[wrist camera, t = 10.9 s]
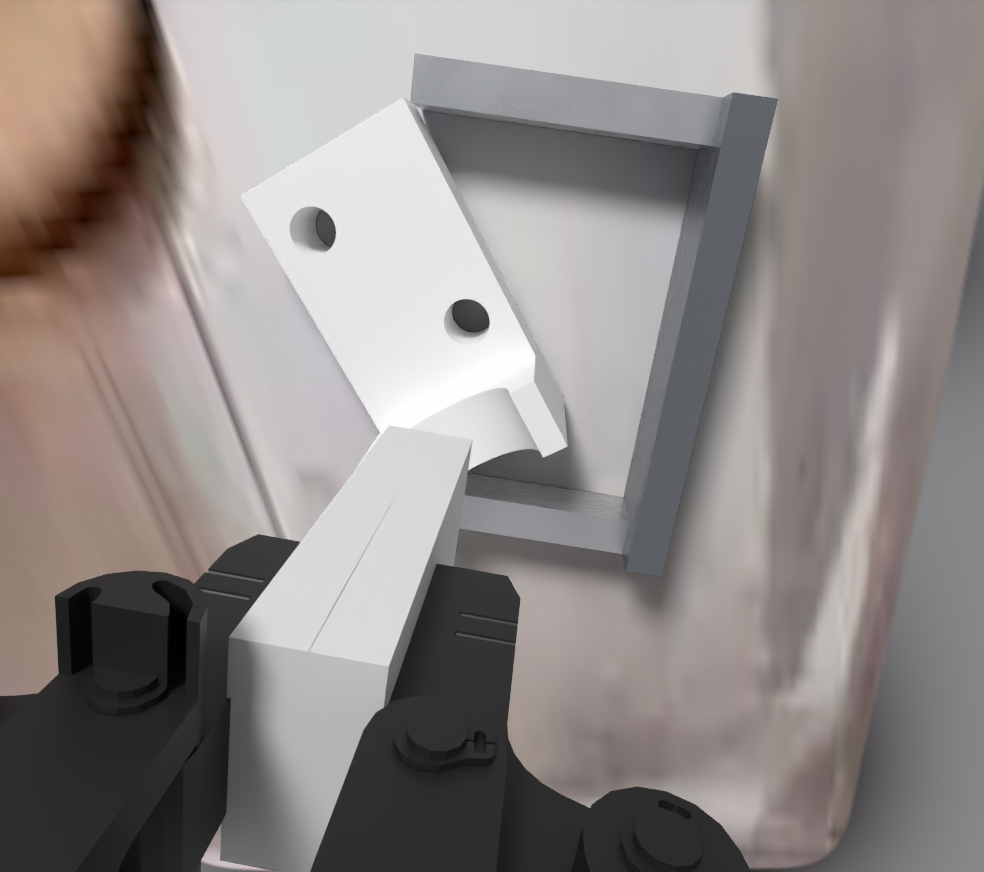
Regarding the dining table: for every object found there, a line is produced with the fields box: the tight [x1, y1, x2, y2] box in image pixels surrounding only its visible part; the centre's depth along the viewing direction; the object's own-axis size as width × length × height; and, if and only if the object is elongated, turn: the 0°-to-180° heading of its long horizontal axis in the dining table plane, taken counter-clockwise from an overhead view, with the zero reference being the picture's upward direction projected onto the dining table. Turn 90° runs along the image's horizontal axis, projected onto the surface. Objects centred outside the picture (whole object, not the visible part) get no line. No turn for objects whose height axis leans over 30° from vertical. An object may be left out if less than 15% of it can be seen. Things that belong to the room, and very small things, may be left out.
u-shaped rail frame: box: [410, 54, 778, 577], centre depth 29 cm, size 12×18×4 cm
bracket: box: [240, 98, 568, 470], centre depth 28 cm, size 13×7×8 cm, turn 28°
